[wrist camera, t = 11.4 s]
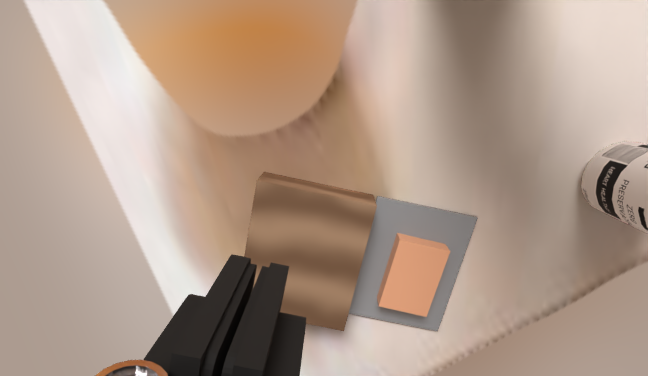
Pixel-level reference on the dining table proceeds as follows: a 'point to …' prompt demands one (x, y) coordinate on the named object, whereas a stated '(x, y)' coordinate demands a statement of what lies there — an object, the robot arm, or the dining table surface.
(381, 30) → the dining table surface
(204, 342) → the robot arm
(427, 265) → the peach rectangular tile
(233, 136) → the dining table surface
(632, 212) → the supplement can
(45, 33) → the dining table surface
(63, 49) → the dining table surface
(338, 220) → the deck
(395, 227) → the mat
